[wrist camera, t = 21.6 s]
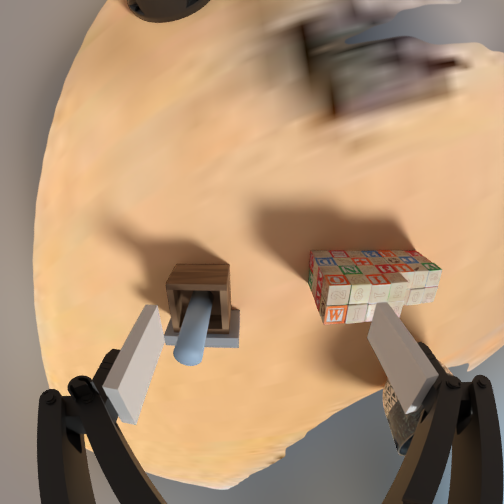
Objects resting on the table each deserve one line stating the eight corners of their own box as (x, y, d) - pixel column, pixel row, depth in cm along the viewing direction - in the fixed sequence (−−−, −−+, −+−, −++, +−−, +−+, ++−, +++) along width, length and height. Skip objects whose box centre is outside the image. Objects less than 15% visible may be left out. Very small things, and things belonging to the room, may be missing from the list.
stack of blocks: (416, 249, 45) (453, 277, 33) (409, 278, 47) (442, 312, 36) (309, 250, 45) (329, 286, 33) (306, 283, 47) (323, 326, 36)
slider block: (176, 264, 45) (165, 283, 39) (229, 264, 45) (226, 284, 39) (182, 309, 49) (173, 332, 42) (231, 310, 49) (229, 334, 42)
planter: (424, 326, 52) (471, 389, 32) (441, 362, 57) (476, 415, 37) (358, 375, 56) (386, 448, 37) (386, 402, 62) (410, 460, 42)
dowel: (190, 287, 43) (171, 344, 30) (212, 287, 43) (200, 345, 30) (192, 306, 45) (176, 364, 32) (214, 306, 45) (203, 366, 32)
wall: (174, 308, 48) (163, 335, 41) (239, 310, 49) (238, 338, 41) (176, 317, 49) (166, 344, 42) (239, 319, 49) (238, 347, 42)
